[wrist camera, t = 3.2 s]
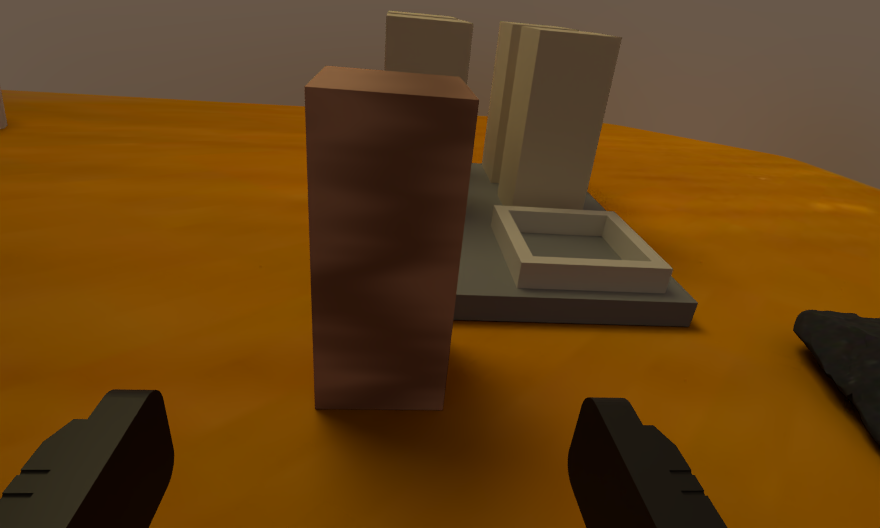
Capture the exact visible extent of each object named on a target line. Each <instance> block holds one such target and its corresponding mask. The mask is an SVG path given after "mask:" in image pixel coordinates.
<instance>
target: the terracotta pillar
mask: <svg viewBox="0 0 880 528" xmlns="http://www.w3.org/2000/svg"><path fill="white" fill-rule="evenodd" d="M478 105H479V99H478V98H477V97H476V96H475V94H474V93H473V92H472V91H471V90H470V89H469V87H468V86H467V85H466V84H465V82H464V81H463V80H462V79H461V78H460V77H456V76H444V75H432V74H420V73H407V72H395V71H383V70H371V69H359V68H346V67H334V66H325V67H324V68H323V69H322V70H321V71H320V72H319V73H318V74H317V75H316V76H315V77H314V78H313V79H312V80H311V81H310V82H309V83H308V84H307V85H306V86H305V114H306V145H307V176H308V207H309V238H310V269H311V300H312V331H313V361H314V392H315V409H379V410H443V403H444V394H445V386H446V377H447V369H448V360H449V352H450V343H451V335H452V326H453V318H454V309H455V301H456V292H457V284H458V275H459V267H460V258H461V250H462V241H463V233H464V224H465V215H466V207H467V198H468V190H469V181H470V173H471V164H472V156H473V147H474V139H475V130H476V122H477V113H478Z"/></svg>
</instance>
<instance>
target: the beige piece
mask: <svg viewBox="0 0 880 528" xmlns="http://www.w3.org/2000/svg"><path fill="white" fill-rule="evenodd" d="M6 126H7V120H6V115H5V109H4V104H3V98H2V93H1V87H0V129H3V128H5V127H6Z"/></svg>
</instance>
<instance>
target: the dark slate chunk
mask: <svg viewBox="0 0 880 528" xmlns="http://www.w3.org/2000/svg"><path fill="white" fill-rule="evenodd" d="M793 331H794V332H795V333H796V335H797V336H798V337H799V338H800V339H801V340H802V341H803V342H804V344H805V345H806V347H807V348H808V349H809V350H810V352H811V353H812V354H813V356H814V357H815V359H816V360H817V362H818V364H819V365H820V366H821V368H822V369H823V370H824V371H825V372H826V374H827V375H828V376H829V377H831V378H832V379H833V380H834V381H835V383H836V385H837V387H838V389H839V390H840V391H841V392H842V393H843V394H844V395H845V396H846V397H847V398H848V399H849V400H850V401H851V402H852V403H853V404H854V406H855V407H856V408H857V410H858V411H859V413H860V416H861V418H862V421H863V423H864V425H865V427H866V429H867V430H868V431H869V433H870V434H871V435H872V437H873V438H874V439H875V441H876V442H877V443H878V444H879V445H880V318H862V317H859V316H858V315H857V314H854V313H840V312H833V311H817V310H806V311H803V312H801V313H800V314H799V315H798V317H797V319H796V321H795V324H794V328H793Z"/></svg>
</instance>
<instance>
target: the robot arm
mask: <svg viewBox="0 0 880 528" xmlns="http://www.w3.org/2000/svg"><path fill="white" fill-rule="evenodd" d="M173 465H174V449H173V444H172V439H171V434H170V429H169V424H168V419H167V415H166V410H165V405H164V400H163V396H162V394H161V393H160V392H159V391H158V390H111V391H109V392H108V393H107V394H106V395H105V396H104V397H103V399H102V400H101V401H100V403H99V404H98V406H97V407H96V408H95V410H94V411H93V412H92V414H91V415H90V416H89V418H88V419H73V420H72V421H71V422H69V423H68V424H67V425H65V426H64V427H63V428H61V429H60V430H59V431H57V432H56V433H55V434H53V435H52V436H50V437H49V438H48V439H46V440H45V441H44V442H42V444H41V445H40V446H39V448H38V449H37V450H36V451H35V453H34V454H33V455H32V456H31V458H30V459H29V460H28V461H27V463H26V464H25V465H24V466H23V468H22V469H21V473H20V475H16V477H15V478H14V479H13V480H12V482H11V483H10V484H9V485H8V487H7V488H6V489H5V490H4V492H3V493H2V494H3V495H2V498H1V499H0V528H149V526H150V523H151V521H152V519H153V517H154V515H155V513H156V511H157V508H158V506H159V504H160V502H161V500H162V498H163V496H164V493H165V491H166V489H167V487H168V484H169V482H170V479H171V475H172V471H173ZM568 473H569V479H570V483H571V486H572V489H573V492H574V495H575V498H576V500H577V503H578V506H579V509H580V511H581V514H582V517H583V520H584V522H585V525H586V528H727V526H726V525H725V523H724V521H723V520H722V518H721V517H720V515H719V513H718V512H717V510H716V509H715V507H714V506H713V504H712V502H711V501H710V499H709V498H708V496H705V495H704V490H703V488H702V486H701V485H700V483H699V482H698V480H697V478H696V477H695V475H692V474H691V469H690V467H689V466H688V464H687V462H686V461H685V459H684V458H683V456H682V454H681V453H680V451H679V450H678V448H677V446H676V445H675V444H673V443H672V442H671V441H670V440H669V439H668V438H667V437H666V436H665V435H663V434H662V433H661V432H660V431H659V430H658V429H657V428H656V427H655V426H653V425H643V424H642V423H641V421H640V419H639V418H638V416H637V414H636V412H635V411H634V409H633V407H632V405H631V404H630V402H629V401H628V400H626V399H625V398H586V399H585V400H584V401H583V404H582V406H581V410H580V414H579V417H578V421H577V424H576V428H575V431H574V435H573V439H572V442H571V446H570V449H569V454H568Z"/></svg>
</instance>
